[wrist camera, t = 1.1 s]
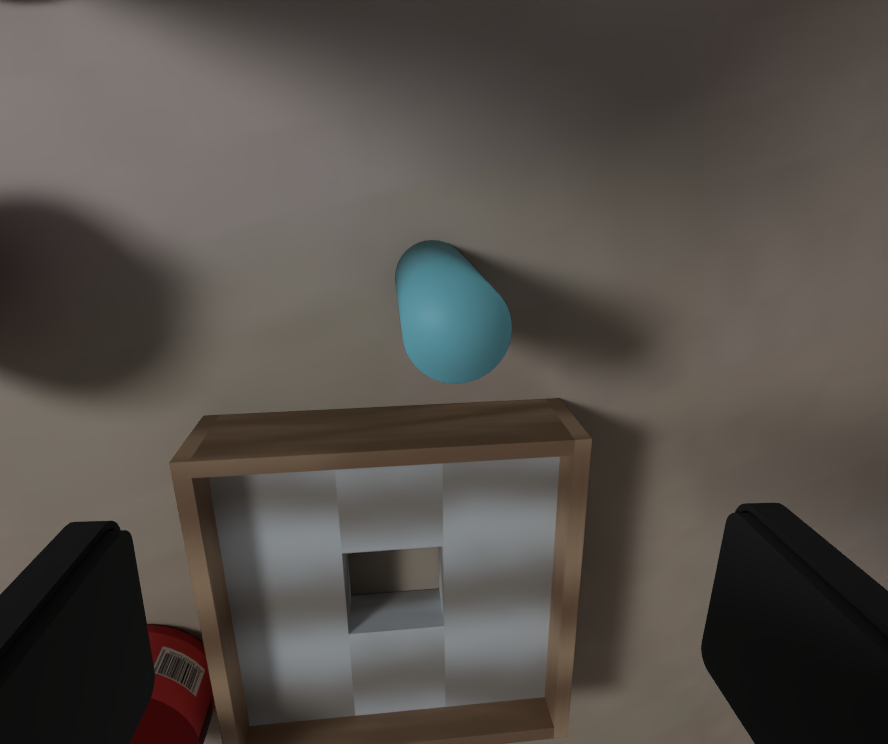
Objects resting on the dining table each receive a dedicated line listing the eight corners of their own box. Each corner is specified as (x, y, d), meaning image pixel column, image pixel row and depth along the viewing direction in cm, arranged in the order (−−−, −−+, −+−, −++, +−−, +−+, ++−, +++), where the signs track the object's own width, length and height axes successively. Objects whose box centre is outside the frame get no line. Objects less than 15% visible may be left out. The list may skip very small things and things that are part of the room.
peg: (393, 241, 27) (400, 278, 18) (468, 239, 28) (513, 274, 18) (396, 314, 29) (404, 386, 19) (468, 312, 29) (510, 381, 19)
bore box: (203, 415, 29) (169, 462, 25) (560, 398, 31) (592, 438, 26) (248, 692, 35) (228, 772, 31) (543, 665, 37) (567, 736, 32)
